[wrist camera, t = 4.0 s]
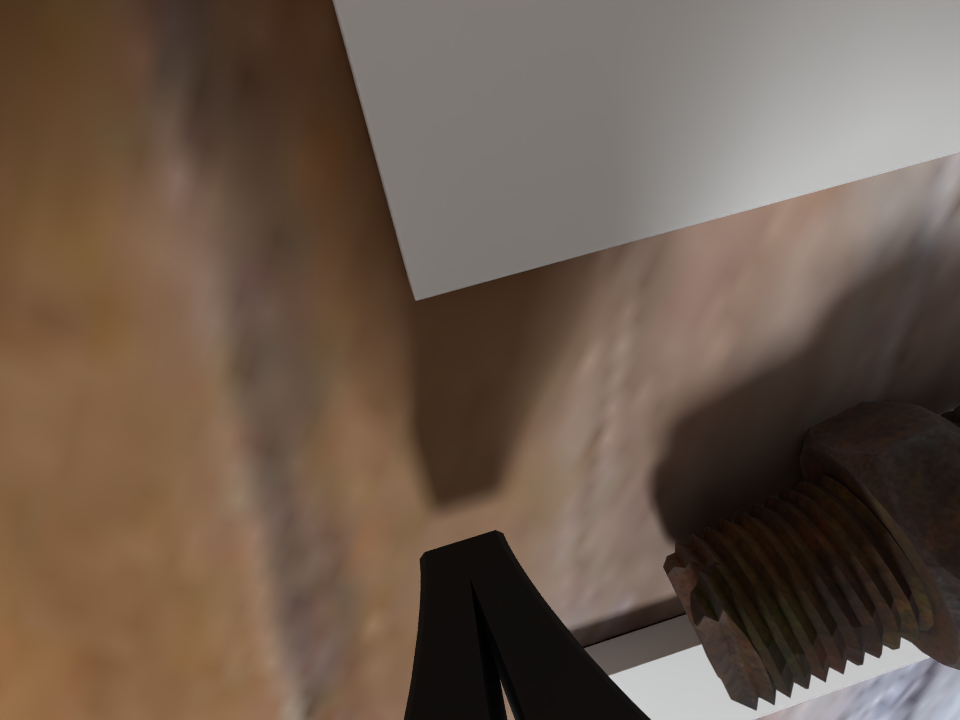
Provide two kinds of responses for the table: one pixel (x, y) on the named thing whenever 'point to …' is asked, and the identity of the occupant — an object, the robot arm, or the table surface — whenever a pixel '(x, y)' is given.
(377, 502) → the table surface
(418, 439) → the table surface
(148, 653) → the table surface
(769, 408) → the table surface
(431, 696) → the robot arm
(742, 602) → the bolt
